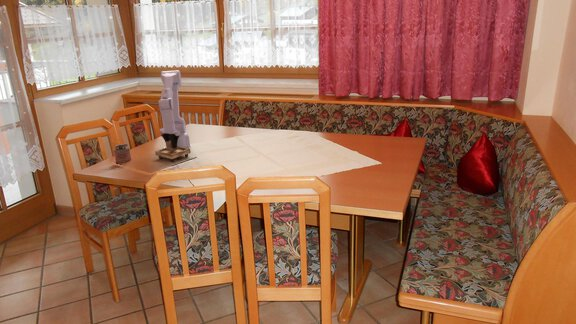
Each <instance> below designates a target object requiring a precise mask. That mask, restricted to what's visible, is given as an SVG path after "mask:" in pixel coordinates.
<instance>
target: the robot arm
mask: <svg viewBox="0 0 576 324" xmlns="http://www.w3.org/2000/svg"><path fill="white" fill-rule="evenodd" d="M160 79H161V81H162V84H163V86H164V88H163V89H162V90H161V95H160V99H158V110H159V111H160V115H161V120H162V126H163V127H162V128H159V133H161V137H162V139H163V140H164V142H165V141H169V140H171V143H172V147H173V148H177V146H179V147H184V148H190V147H191V143H190V136H189V134H188V133H187V125H186V121H185V119H184V118H183V117H181V116H180V101H179V87H181V86H182V75H181V72H180V70H179V69H177V70H165V71H164V70H162V71H161V72H160Z"/></svg>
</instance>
